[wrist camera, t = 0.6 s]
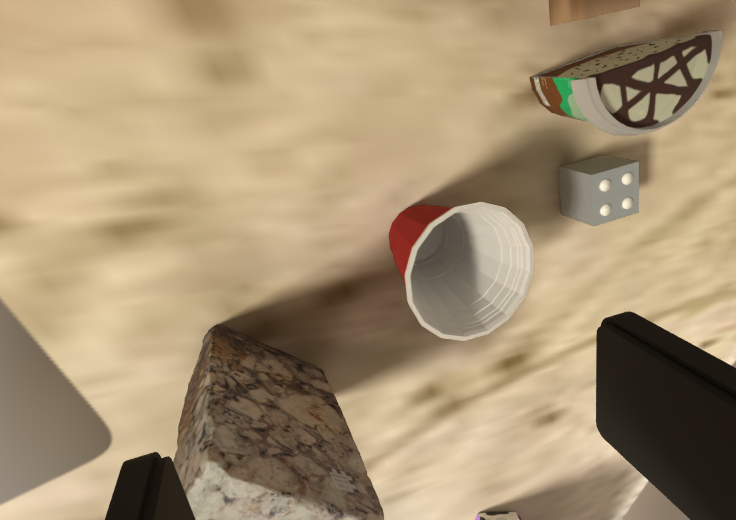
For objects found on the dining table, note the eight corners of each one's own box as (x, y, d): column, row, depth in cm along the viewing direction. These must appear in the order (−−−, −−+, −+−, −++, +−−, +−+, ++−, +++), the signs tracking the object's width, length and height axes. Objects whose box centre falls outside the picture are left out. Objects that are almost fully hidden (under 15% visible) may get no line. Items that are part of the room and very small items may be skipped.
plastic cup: (489, 233, 49) (564, 274, 38) (410, 305, 49) (461, 367, 38) (427, 151, 44) (491, 171, 33) (340, 231, 45) (375, 277, 34)
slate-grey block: (557, 167, 48) (593, 175, 44) (601, 154, 49) (640, 161, 44) (560, 214, 50) (594, 226, 45) (602, 201, 51) (639, 212, 46)
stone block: (337, 360, 49) (399, 521, 31) (305, 415, 50) (347, 602, 32) (212, 313, 44) (196, 472, 26) (180, 376, 45) (143, 571, 27)
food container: (526, 147, 47) (597, 160, 37) (515, 82, 44) (588, 80, 35) (635, 105, 48) (728, 108, 39) (629, 40, 46) (728, 28, 37)
